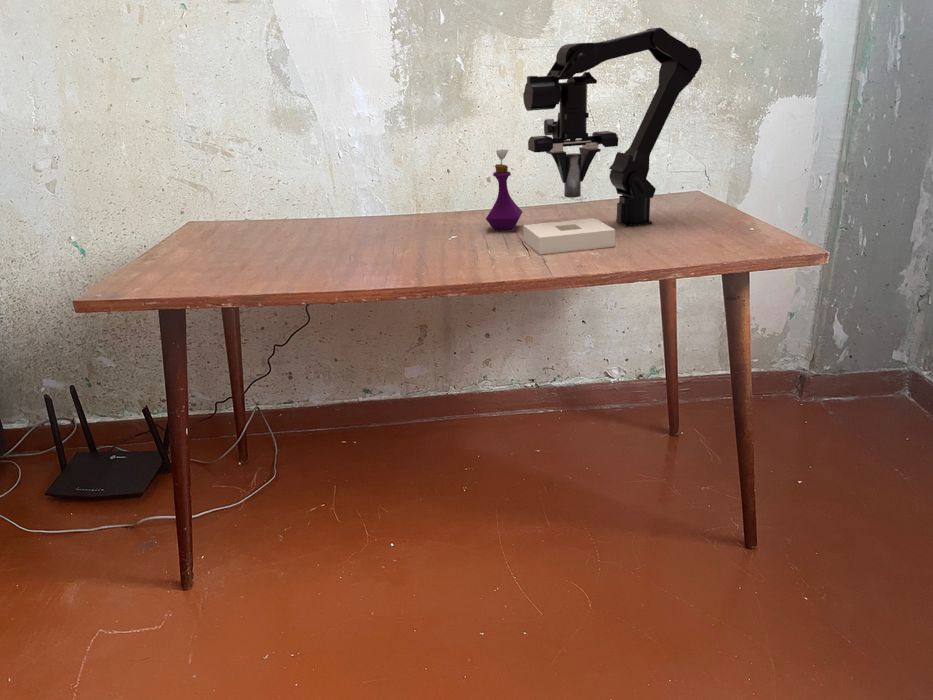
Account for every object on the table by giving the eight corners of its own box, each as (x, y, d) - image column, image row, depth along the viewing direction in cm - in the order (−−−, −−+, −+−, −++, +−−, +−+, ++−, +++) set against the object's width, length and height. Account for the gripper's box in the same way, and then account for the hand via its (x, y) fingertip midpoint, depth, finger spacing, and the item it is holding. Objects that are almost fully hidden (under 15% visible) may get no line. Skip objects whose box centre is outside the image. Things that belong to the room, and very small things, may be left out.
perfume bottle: (518, 232, 161) (516, 151, 154) (486, 232, 163) (482, 152, 156) (522, 225, 168) (520, 147, 161) (491, 225, 169) (488, 148, 162)
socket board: (593, 233, 156) (594, 218, 155) (614, 246, 145) (615, 229, 144) (523, 241, 153) (523, 225, 152) (539, 254, 143) (539, 237, 141)
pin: (577, 194, 159) (577, 152, 155) (582, 196, 156) (583, 154, 152) (562, 195, 158) (562, 154, 155) (567, 198, 155) (567, 156, 152)
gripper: (600, 103, 159) (599, 173, 165) (520, 108, 156) (522, 180, 162) (620, 105, 149) (617, 180, 155) (534, 111, 146) (535, 187, 152)
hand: (572, 182), depth 156 cm, fingers closed on pin, 4 cm apart
